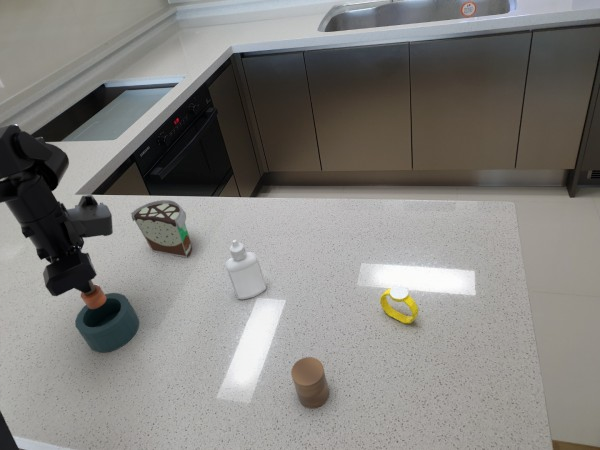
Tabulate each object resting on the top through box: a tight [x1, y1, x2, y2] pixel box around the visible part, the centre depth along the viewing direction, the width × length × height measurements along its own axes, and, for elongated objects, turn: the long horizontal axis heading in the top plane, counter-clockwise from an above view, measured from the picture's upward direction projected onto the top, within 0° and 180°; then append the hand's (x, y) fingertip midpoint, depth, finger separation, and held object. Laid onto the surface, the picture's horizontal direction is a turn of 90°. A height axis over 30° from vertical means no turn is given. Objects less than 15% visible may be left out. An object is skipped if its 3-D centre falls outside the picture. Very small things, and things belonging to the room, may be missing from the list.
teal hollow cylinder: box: [75, 292, 140, 353], centre depth 80 cm, size 9×9×5 cm
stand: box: [291, 356, 330, 409], centre depth 63 cm, size 4×4×6 cm
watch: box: [379, 285, 419, 325], centre depth 71 cm, size 6×3×6 cm, turn 50°
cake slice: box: [130, 199, 193, 259], centre depth 95 cm, size 12×6×10 cm, turn 66°
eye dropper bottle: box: [225, 239, 267, 300], centre depth 80 cm, size 4×6×12 cm
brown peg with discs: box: [80, 280, 106, 309], centre depth 74 cm, size 3×3×8 cm
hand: (87, 287), depth 75 cm, fingers closed on brown peg with discs, 2 cm apart
